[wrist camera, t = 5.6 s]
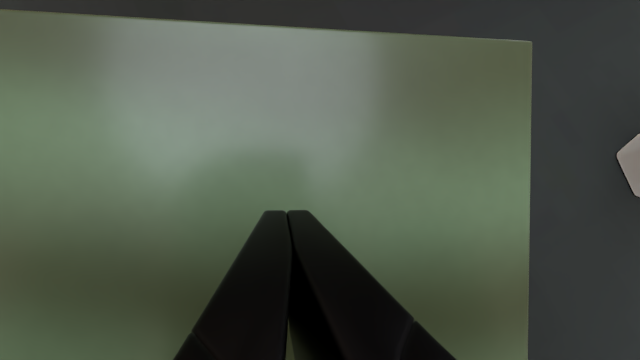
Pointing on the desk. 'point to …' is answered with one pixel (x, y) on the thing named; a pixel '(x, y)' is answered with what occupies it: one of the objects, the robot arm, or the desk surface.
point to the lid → (253, 174)
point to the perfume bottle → (631, 163)
